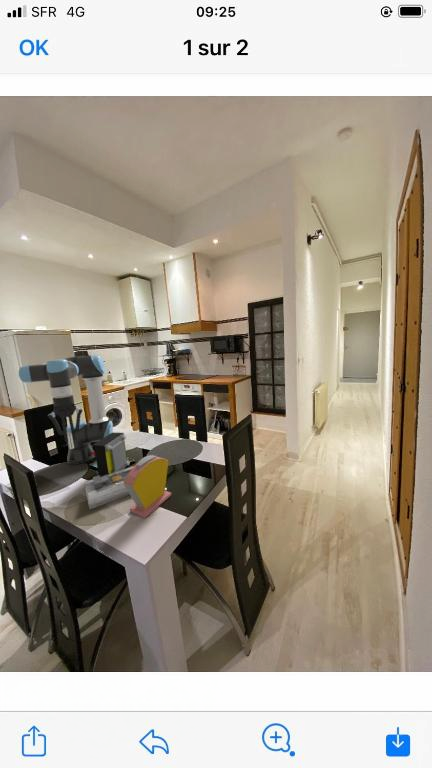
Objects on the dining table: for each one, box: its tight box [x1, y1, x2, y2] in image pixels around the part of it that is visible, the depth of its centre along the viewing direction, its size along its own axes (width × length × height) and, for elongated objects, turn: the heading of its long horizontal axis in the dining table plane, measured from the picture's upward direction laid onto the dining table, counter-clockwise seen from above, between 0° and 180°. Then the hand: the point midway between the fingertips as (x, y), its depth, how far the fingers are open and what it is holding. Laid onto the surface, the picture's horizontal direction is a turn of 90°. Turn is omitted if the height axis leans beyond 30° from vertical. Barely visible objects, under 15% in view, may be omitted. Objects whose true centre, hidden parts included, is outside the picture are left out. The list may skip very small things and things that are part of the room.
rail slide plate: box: [84, 465, 135, 510], centre depth 120 cm, size 14×26×7 cm, turn 123°
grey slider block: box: [92, 475, 109, 490], centre depth 116 cm, size 7×6×5 cm
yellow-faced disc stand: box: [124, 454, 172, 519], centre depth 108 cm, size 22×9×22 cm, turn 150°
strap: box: [102, 475, 127, 487], centre depth 121 cm, size 6×16×2 cm, turn 123°
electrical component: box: [91, 432, 130, 477], centre depth 137 cm, size 18×10×20 cm, turn 168°
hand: (71, 447), depth 110 cm, fingers closed
